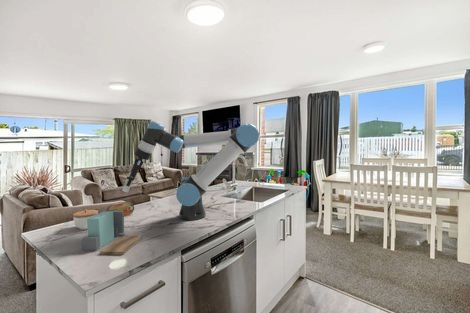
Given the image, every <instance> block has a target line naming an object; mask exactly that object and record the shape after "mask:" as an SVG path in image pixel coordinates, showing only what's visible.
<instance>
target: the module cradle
mask: <svg viewBox="0 0 470 313" xmlns="http://www.w3.org/2000/svg"><path fill="white" fill-rule="evenodd" d="M101 212H113V220H114V238H117V237H119V236H123V235H126V234H125V233H126V232H125V217H124V211H107V210H102V211H101ZM100 249H101V247H100V243H99V236H88V235H87V236H83V237H81V251H82V250H85V251H84V252H86V250H88V251H89V250H91V251H93V252H94V251H95V252H97V251H99V250H100ZM88 251H87V252H88ZM91 251H90V252H91Z"/></svg>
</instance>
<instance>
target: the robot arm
mask: <svg viewBox="0 0 470 313" xmlns="http://www.w3.org/2000/svg"><path fill="white" fill-rule="evenodd" d="M259 139H260V133H259V130H258V128H257V127H256V125H254V124H252V123H243V124H241V125H240V126H238V127H235V128H229V129H228V130H226V131H225V130H224V131H213V132H203V133H201V132H200V133H191V134H180V135H174V134H172V133H170V132H168V131H166V130H165V125H163V124H161V123H159V122H156V120H155V121H154V120H152V121H150V122H149V124H148V126H146V128H145V131H144V133H143V136H142V137H141V140H138V143H139V144H138V146H137V148H136V150H135V151H134V155H135V157H137V158H135V159H134V163H133V165H132V168H131V171H130V172H129V174H128V176H126V180H125V182H124V186H123V188H122V190H121V191H122V192H125V193H127V194H128V193H129V191H130V189H131V186H132V184H133V182H134V180H135V178H136V176H137V174H138V172H139V171H140V169H141V167H142V166H143V164H144V161H143V160H145V161H149V160H150V158H151V155H152V153H153V152H154V150H155V149H156V146H157V145H159V146H162V147H164V148H165V149H167V150H170V151H171V152H174V153H176V154H177V153H179V152H180V151H181V149H188V148H189V149H191V148H199V147H200V148H201V147H213V146H222V145H224V146H223V147H221V149H220V150H219V151H218V152H216V154H215V155H214V156H213V157H212V158H211V159H210V160H208V162H207V163H206V164H205V165H204V166H202V168H200V170H199V171H198V172H197V173H195V174H191V175H190V176H183V177H181V181H180V183H181V184H180V185H179V186H178V187H177V189H176V193H175V195H176V200H177V201H178V203H179V204H181V206H180V210H179V212H178V217H179V219H180V220H183V221H195V220H196V221H197V220H202V219H204V218H205V217H206V215H207V214H206V213H207V212H206V210H205V206H204V203H203V196H204V194H205V193H206V192H208V186H210V185H211V184H212V183H213V181H214V180H215V179H216V178H217V177H218V176H219V175H220V174H221V173H222V172H223V171H224V170H226V169H227V167H229V165H230V164H231V163H233V161H234V160H236V158H237V157H238V156H239V155H240V154H242V155H243V154H245V153H246V152H248V150H249V149H250V148H252V147H254V146H255V145H257V143H258V142H259Z"/></svg>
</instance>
